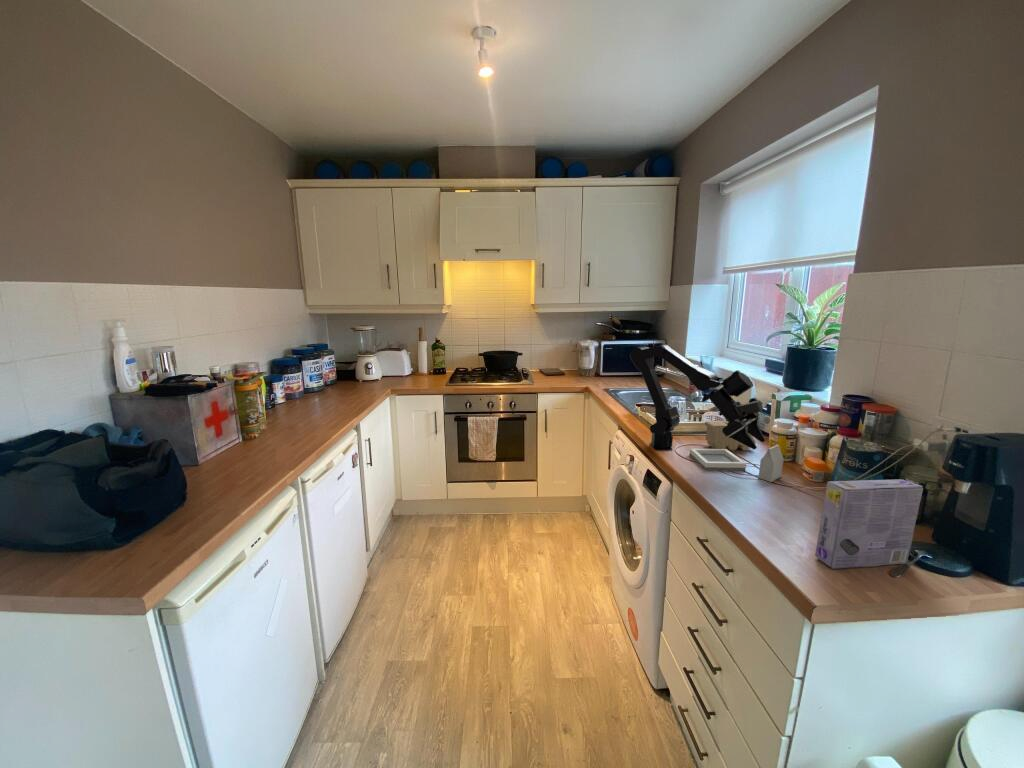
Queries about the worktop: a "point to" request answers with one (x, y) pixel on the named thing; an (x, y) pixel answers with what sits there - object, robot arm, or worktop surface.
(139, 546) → the worktop surface
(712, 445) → the toy train
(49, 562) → the worktop surface
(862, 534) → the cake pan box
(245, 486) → the worktop surface
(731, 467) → the tray
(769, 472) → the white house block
